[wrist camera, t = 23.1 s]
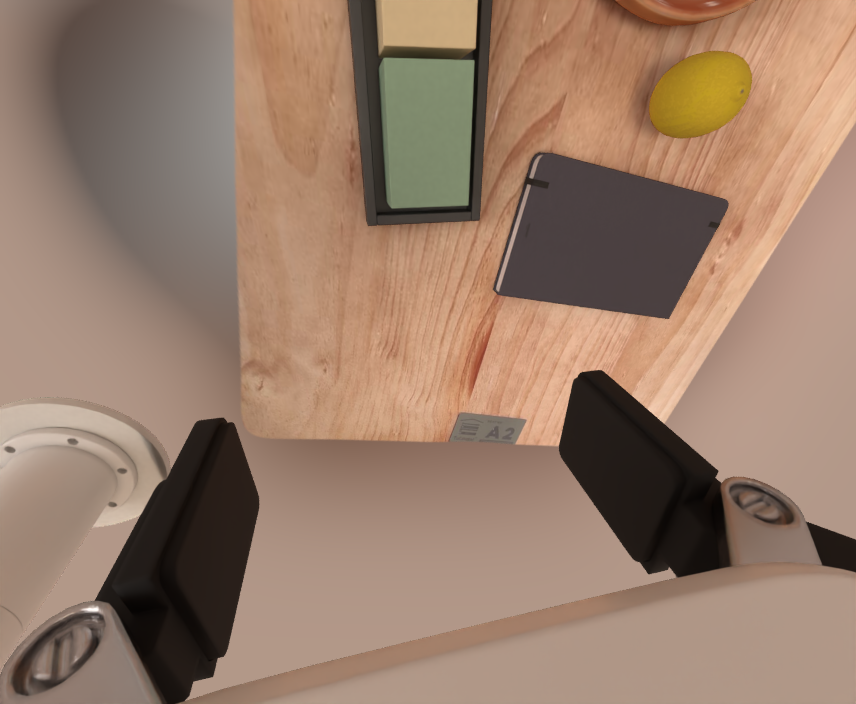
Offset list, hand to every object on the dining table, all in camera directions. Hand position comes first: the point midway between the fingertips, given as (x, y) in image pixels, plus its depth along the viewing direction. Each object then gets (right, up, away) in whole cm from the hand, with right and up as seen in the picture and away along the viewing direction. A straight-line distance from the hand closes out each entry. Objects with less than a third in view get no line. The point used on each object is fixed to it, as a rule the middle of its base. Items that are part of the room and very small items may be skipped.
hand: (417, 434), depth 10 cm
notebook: (+18, +13, +28) cm, 36 cm away
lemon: (+20, +24, +22) cm, 38 cm away
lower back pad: (0, +19, +19) cm, 27 cm away
